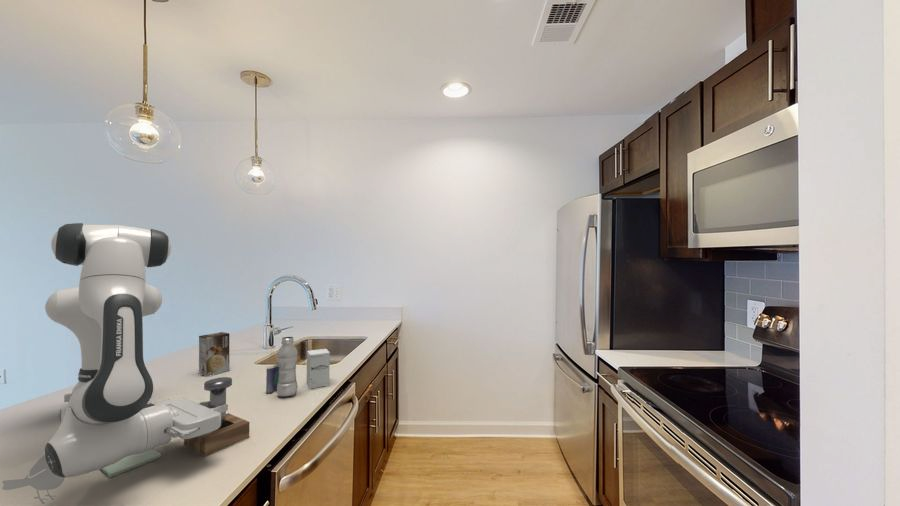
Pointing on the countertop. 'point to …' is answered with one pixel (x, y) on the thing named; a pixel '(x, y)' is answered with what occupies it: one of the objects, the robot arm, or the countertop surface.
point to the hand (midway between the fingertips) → (221, 404)
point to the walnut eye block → (220, 436)
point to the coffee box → (213, 353)
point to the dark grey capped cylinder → (218, 394)
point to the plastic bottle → (287, 368)
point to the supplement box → (318, 368)
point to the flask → (272, 378)
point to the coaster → (131, 462)
